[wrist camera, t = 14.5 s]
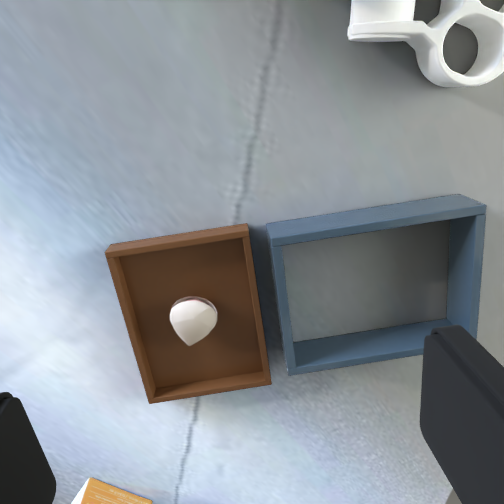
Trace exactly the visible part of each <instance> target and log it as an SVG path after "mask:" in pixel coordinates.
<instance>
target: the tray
mask: <svg viewBox="0 0 504 504" xmlns="http://www.w3.org/2000/svg"><path fill="white" fill-rule="evenodd" d="M105 255H106V258H107V262H108V265H109V269H110V272H111V276H112V279H113V282H114V286H115V289H116V293H117V296H118V299H119V303H120V306H121V310H122V313H123V316H124V320H125V323H126V327H127V330H128V333H129V337H130V340H131V344H132V347H133V350H134V354H135V357H136V361H137V364H138V367H139V371H140V374H141V378H142V381H143V384H144V388H145V391H146V395H147V398H148V402H149V404H152V403H159V402H165V401H171V400H177V399H184V398H190V397H196V396H202V395H209V394H215V393H221V392H227V391H234V390H240V389H246V388H253V387H259V386H265V385H271V384H272V382H271V376H270V369H269V362H268V356H267V349H266V342H265V336H264V329H263V323H262V316H261V309H260V303H259V296H258V289H257V283H256V276H255V269H254V263H253V256H252V249H251V243H250V236H249V230H248V225H247V223H246V224H239V225H233V226H226V227H220V228H213V229H207V230H200V231H194V232H188V233H181V234H175V235H168V236H162V237H155V238H149V239H142V240H136V241H129V242H123V243H116V244H111V245H110V246H109V247H108V249H107V250H106V251H105ZM188 296H197V297H201V298H204V299H206V300H208V301H210V302H211V303H212V304H213V305H214V306H215V308H216V310H217V322H216V325H215V327H214V328H213V329H212V330H211V331H210V333H209V334H208V335H207V336H205V337H204V338H203V339H201V340H200V341H198V342H196V343H195V344H193V345H191V346H189V345H187V344H186V343H185V342H184V341H183V340H182V339H181V338H180V337H179V336H178V335H177V333H176V331H175V330H174V328H173V325H172V323H171V321H170V312H171V308H172V306H173V305H174V304H175V303H176V301H178V300H180V299H181V298H185V297H188Z"/></svg>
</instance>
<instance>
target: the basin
mask: <svg viewBox="0 0 504 504" xmlns="http://www.w3.org/2000/svg"><path fill="white" fill-rule="evenodd" d="M449 219H450V240H449V263H448V287H447V311H446V319H439V320H433V321H427V322H421V323H414V324H408V325H402V326H395V327H389V328H383V329H376V330H370V331H364V332H357V333H351V334H345V335H339V336H332V337H326V338H320V339H313V340H307V341H301V342H294V343H293V338H292V329H291V321H290V313H289V305H288V296H287V288H286V280H285V271H284V263H283V255H282V247H281V246H282V245H288V244H295V243H301V242H308V241H314V240H321V239H327V238H334V237H340V236H346V235H353V234H359V233H366V232H372V231H379V230H385V229H391V228H398V227H404V226H411V225H417V224H424V223H430V222H436V221H443V220H449ZM485 221H486V205H485V204H483V203H480V202H478V201H476V200H473V199H471V198H468V197H466V196H464V195H461V194H455V195H449V196H442V197H436V198H429V199H423V200H417V201H410V202H404V203H397V204H391V205H384V206H378V207H371V208H365V209H358V210H352V211H345V212H339V213H332V214H326V215H320V216H313V217H307V218H300V219H294V220H287V221H281V222H274V223H268V224H266V230H267V238H268V246H269V253H270V261H271V268H272V276H273V283H274V291H275V298H276V306H277V313H278V321H279V328H280V336H281V343H282V351H283V355H284V359H285V363H286V368H287V372H288V375H289V376H291V375H297V374H303V373H310V372H316V371H322V370H329V369H335V368H341V367H347V366H354V365H360V364H366V363H372V362H379V361H385V360H391V359H397V358H404V357H410V356H416V355H423V353H424V339H425V337H426V336H427V335H431V331H432V329H433V328H437V327H443V326H450V325H461V326H462V327H463V328H464V329H466V330H467V331H468V332H469V333H470V334H471V335H472V336H473V337H474V338H475V339H477V327H478V314H479V301H480V287H481V274H482V261H483V248H484V234H485Z"/></svg>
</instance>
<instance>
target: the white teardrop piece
mask: <svg viewBox="0 0 504 504" xmlns="http://www.w3.org/2000/svg"><path fill="white" fill-rule="evenodd" d="M170 321H171V323H172V325H173V328H174V330H175V331H176V333H177V335H178V336H179V337H180V338H181V339H182V340H183V341H184V342H185V343H186V344H187V345H189V346H191V345H193V344H195V343H196V342H198V341H200V340H201V339H203V338H204V337H205V336H207V335H208V334H209V333H210V331H211V330H212V329H213V328H214V327H215V325H216V322H217V310H216V308H215V306H214V305H213V304H212V303H211V302H210V301H208V300H206V299H204V298H201V297H197V296H188V297H185V298H181V299H180V300H178V301H176V303H175V304H174V305H173V306H172V308H171V312H170Z"/></svg>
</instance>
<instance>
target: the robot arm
mask: <svg viewBox="0 0 504 504" xmlns="http://www.w3.org/2000/svg"><path fill="white" fill-rule="evenodd" d="M420 428H421V431H422V434H423V437H424V439H425V441H426V442H427V444H428V446H429V448H430V449H431V451H432V453H433V454H434V456H435V458H436V460H437V461H438V463H439V465H440V466H441V468H442V470H443V472H444V473H445V475H446V477H447V478H448V480H449V482H450V484H451V485H452V487H453V489H454V490H455V492H456V494H457V496H458V497H459V499H460V501H461V502H462V504H504V367H503V366H502V365H501V364H500V363H499V362H498V361H497V360H496V359H495V358H494V357H493V356H492V355H491V354H490V353H489V352H488V351H487V350H486V349H485V348H484V347H483V346H482V345H481V344H480V343H479V342H478V341H477V340H476V339H475V338H474V337H473V336H472V335H471V334H470V333H469V332H468V331H467V330H466V329H464V328H463V327H462V326H461V325H450V326H443V327H437V328H433V329H432V331H431V335H427V336H426V337H425V339H424V353H423V371H422V390H421V409H420ZM55 493H56V480H55V477H54V475H53V473H52V470H51V468H50V466H49V464H48V461H47V459H46V457H45V455H44V452H43V450H42V448H41V446H40V443H39V441H38V439H37V437H36V434H35V432H34V430H33V428H32V425H31V423H30V421H29V419H28V416H27V414H26V412H25V410H24V407H23V405H22V403H21V401H20V399H18V398H16V397H13V396H12V394H10V393H9V392H3V393H0V504H52V502H53V500H54V497H55Z"/></svg>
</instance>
